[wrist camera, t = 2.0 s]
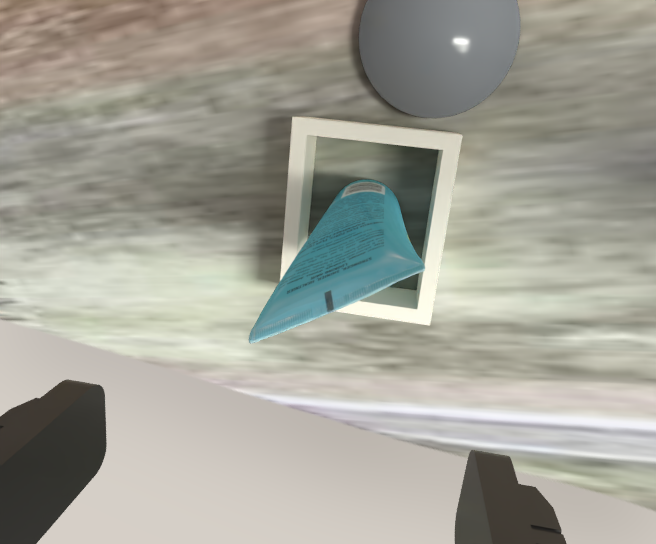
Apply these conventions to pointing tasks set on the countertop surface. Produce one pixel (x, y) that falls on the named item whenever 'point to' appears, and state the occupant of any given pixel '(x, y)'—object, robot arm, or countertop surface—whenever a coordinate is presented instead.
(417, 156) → the countertop surface
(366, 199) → the tube
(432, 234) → the white open box
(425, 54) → the grey round disc
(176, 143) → the countertop surface
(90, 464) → the robot arm
